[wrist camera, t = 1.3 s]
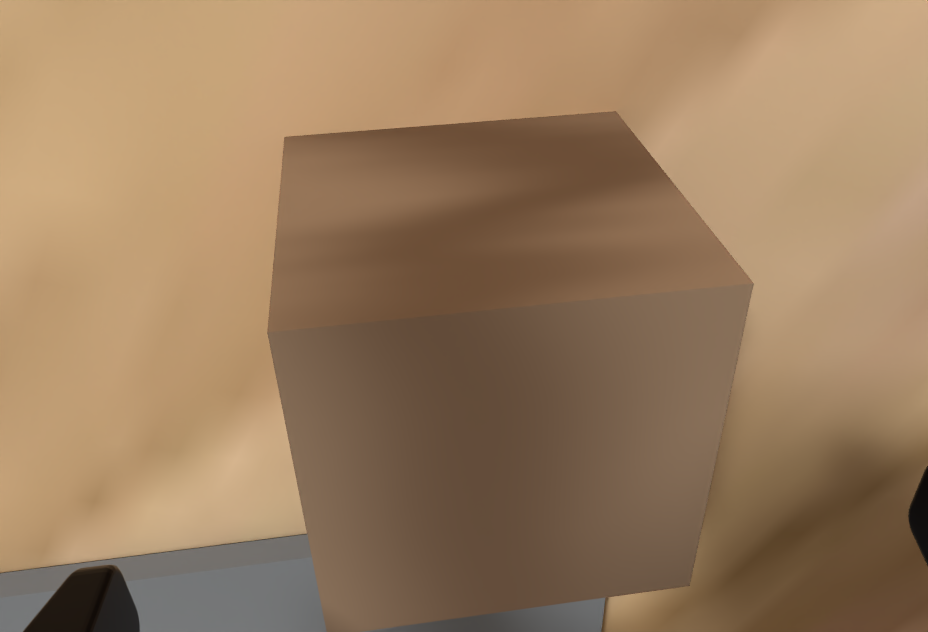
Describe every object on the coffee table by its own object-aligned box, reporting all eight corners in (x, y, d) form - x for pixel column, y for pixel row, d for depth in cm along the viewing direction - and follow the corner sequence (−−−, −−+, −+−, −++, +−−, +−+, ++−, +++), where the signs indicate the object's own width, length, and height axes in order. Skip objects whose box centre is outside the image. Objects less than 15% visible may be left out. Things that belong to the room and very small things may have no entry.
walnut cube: (614, 109, 13) (753, 283, 9) (593, 365, 16) (689, 585, 11) (284, 135, 12) (267, 333, 8) (325, 394, 15) (327, 636, 11)
